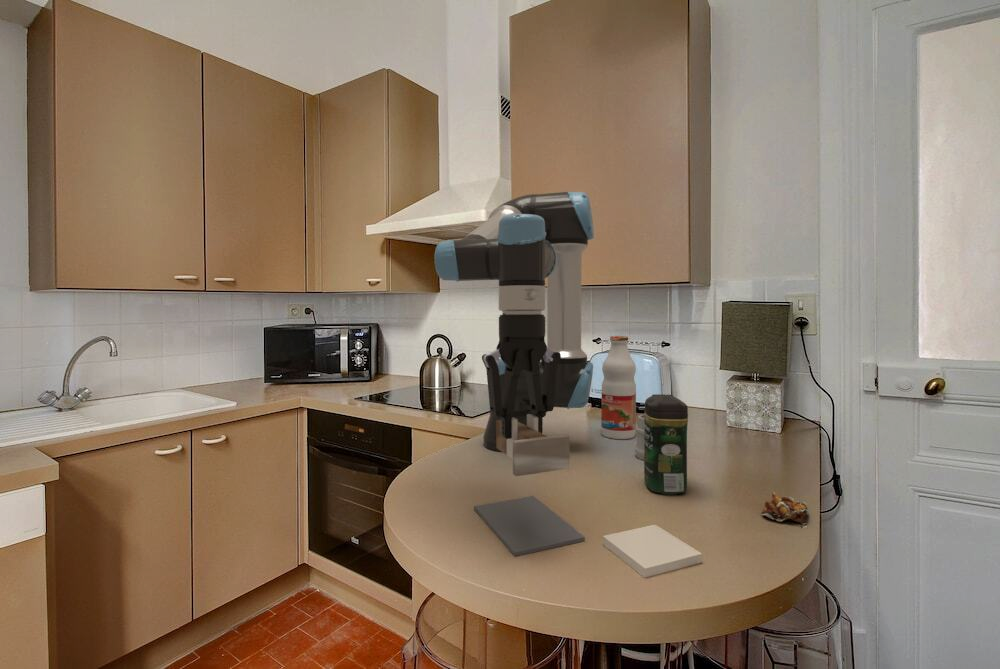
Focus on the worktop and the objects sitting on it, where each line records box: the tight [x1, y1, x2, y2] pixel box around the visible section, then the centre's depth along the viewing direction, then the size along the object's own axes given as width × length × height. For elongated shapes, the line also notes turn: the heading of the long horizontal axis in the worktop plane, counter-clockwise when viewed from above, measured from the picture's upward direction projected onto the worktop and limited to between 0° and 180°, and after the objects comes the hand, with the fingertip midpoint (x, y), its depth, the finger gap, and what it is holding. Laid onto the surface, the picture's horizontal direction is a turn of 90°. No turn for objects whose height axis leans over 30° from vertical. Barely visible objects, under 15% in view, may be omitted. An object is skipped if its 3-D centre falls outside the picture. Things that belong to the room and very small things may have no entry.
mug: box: [634, 413, 645, 461], centre depth 115 cm, size 8×12×12 cm, turn 160°
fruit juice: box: [600, 335, 637, 440], centre depth 137 cm, size 9×9×28 cm
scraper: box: [496, 420, 571, 477], centre depth 80 cm, size 15×9×5 cm, turn 22°
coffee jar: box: [643, 393, 689, 496], centre depth 98 cm, size 10×8×19 cm
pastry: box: [761, 491, 809, 529], centre depth 86 cm, size 7×12×4 cm, turn 148°
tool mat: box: [473, 495, 586, 557], centre depth 82 cm, size 18×12×1 cm, turn 22°
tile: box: [602, 524, 703, 578], centre depth 72 cm, size 2×10×10 cm
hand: (522, 455), depth 80 cm, fingers closed on scraper, 3 cm apart
